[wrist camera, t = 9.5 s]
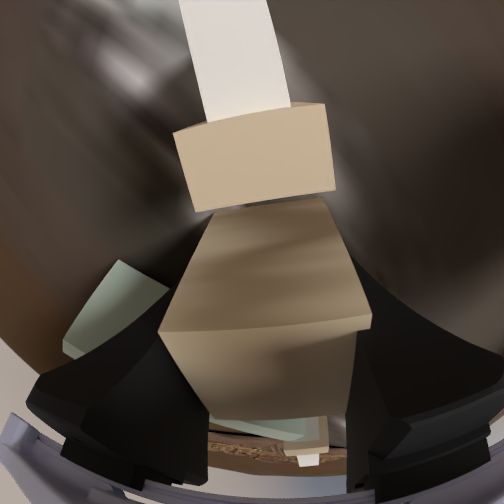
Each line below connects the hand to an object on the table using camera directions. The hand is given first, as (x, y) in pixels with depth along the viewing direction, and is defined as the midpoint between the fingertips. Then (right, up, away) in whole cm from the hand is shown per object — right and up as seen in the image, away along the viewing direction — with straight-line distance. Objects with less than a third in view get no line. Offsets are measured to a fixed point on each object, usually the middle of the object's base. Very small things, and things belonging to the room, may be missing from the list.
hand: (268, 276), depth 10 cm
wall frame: (+1, 0, +2) cm, 2 cm away
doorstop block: (0, +1, +1) cm, 1 cm away
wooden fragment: (+3, -21, +15) cm, 26 cm away
